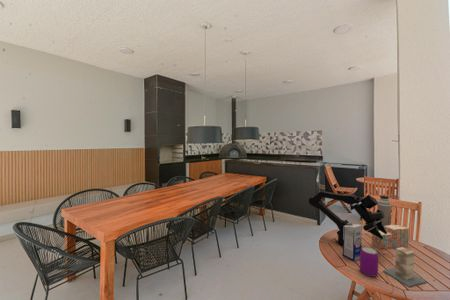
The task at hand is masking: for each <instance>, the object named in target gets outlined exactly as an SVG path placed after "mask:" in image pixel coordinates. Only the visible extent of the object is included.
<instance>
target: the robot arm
mask: <svg viewBox="0 0 450 300" xmlns="http://www.w3.org/2000/svg"><path fill="white" fill-rule="evenodd" d="M324 198H325V199H329V200H335V201H341V202H342V203H345V204H347V205H350V209H349V210H350V211H353V210H354V211H355V212H356V213H357V214H358V215H359V218H360V219H361V220H363V221H364V222H365V224H364V225H362V230H364V232H367V233H370V234H371V235H372V234H374V235H375V236H377V237H379V238H381V239H383V236H382V235H381V234H380V232H379V231H378V229H379V230H380V231H381V232H383V233H384V234H387V232H386V230H385V228H384V226H383V224H382V222H383V220H382V218H384V217H385V215H384V212H383V211H381V210H380V209H379V210H377V209H376V211H375V212H372V211H371V210H370V209H373V208H374V207H377V204H378V203H379V202H378V200H377V199H376V198H375V197H374V196H371V194H368V195H366V196H365V197H360V196H357V195H356V194H354V193H345V194H344V193H342V194H341V193H336V192H330V191H325V190H321V191H319V192H318V193H317V194H315V195H314V196H311V197H309V198H308V204H309V205H310V206H311V207H314V208H316V209H318V210H319V211H320V212H322V213H323V214H324V215H325V216H326V217H327V218H329V220H331V221H332V222H333V224H335V225H336V226H337V228H338V231H336V235H337V240H336V241H335V242H336V243H337V244H338V245H340V246H342V247H343V229H344V226H346V225H347V223H350V222H349V220H348V219H345V220H343V219H341V218H340V217H339V216H338V215H336V214H335V212H334V211H332V210H331V209H330V208H329V207H327V205H325V204H324V202H323V201H322V199H324ZM368 209H369V210H368ZM380 220H381V221H380Z"/></svg>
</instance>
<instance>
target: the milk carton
mask: <svg viewBox="0 0 450 300" xmlns="http://www.w3.org/2000/svg"><path fill="white" fill-rule="evenodd" d="M362 232H363V224H358V223H357V224H356V223H353V222H349V223H347V225H346V226H344V229H343V246H342V256H343V257H344V258H347V259H349V260H351V261H352V262H356V261H359V260H360V252H361V250H362V241H363V240H362V237H363V235H362V234H363V233H362Z"/></svg>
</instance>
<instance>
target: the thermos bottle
mask: <svg viewBox="0 0 450 300" xmlns="http://www.w3.org/2000/svg"><path fill="white" fill-rule="evenodd" d="M389 197H390V196H389ZM389 197H388V196H386V195H380V197H379V198H380V199H378V200H377V202H378V204H377V205H376V207H377V208H376V211H377V210H379V209H380V210H381V211H383V212H384V215H385V217H384V218H382V220H383V222H382V224H383V226H388V225H392V224H391V223H392V222H391V220H392V204H391V201H389ZM380 221H381V220H380ZM378 231H380V230H379V229H378Z"/></svg>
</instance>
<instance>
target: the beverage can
mask: <svg viewBox="0 0 450 300" xmlns="http://www.w3.org/2000/svg"><path fill="white" fill-rule="evenodd" d="M359 270H360V272H362V273H363V274H364V275H365V276H368V277H376V276H378V274H379V272H378V271H379V255H378V253H377V250H376V249H374V248H371V247H367V246H365V247H364V246H363V247H361V252H360V259H359Z"/></svg>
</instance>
